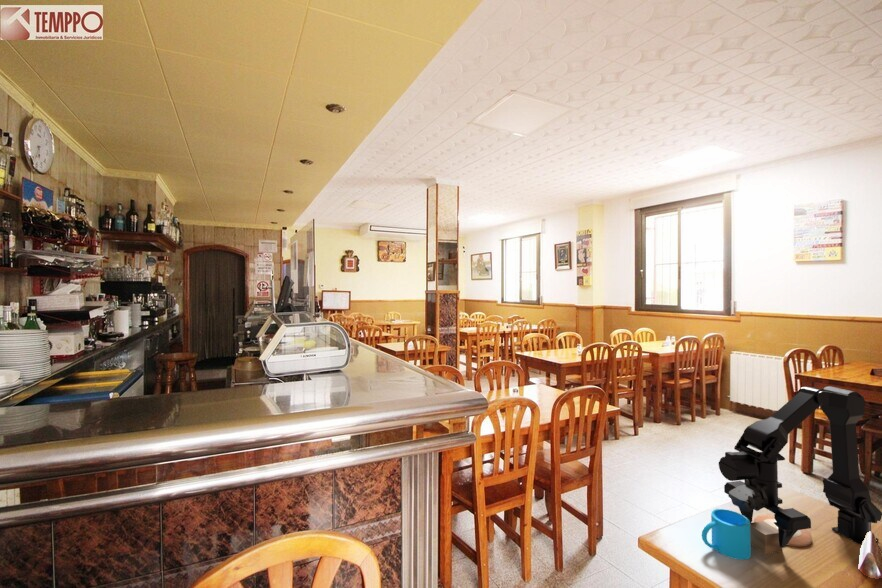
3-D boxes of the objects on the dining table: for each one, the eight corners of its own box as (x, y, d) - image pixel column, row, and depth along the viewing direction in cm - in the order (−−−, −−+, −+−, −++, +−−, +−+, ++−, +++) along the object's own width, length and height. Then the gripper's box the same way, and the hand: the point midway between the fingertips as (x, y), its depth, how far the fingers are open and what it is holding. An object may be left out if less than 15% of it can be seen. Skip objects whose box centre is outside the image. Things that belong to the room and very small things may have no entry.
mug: (732, 537, 106) (731, 507, 106) (759, 557, 98) (758, 525, 98) (691, 541, 105) (690, 511, 105) (715, 562, 97) (714, 530, 97)
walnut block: (763, 539, 105) (763, 521, 105) (782, 551, 100) (782, 532, 100) (747, 541, 104) (746, 523, 104) (765, 554, 100) (765, 534, 99)
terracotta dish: (778, 517, 115) (778, 512, 115) (824, 543, 103) (824, 538, 103) (742, 522, 113) (742, 517, 113) (785, 549, 101) (785, 544, 101)
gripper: (706, 464, 110) (707, 519, 110) (772, 498, 92) (773, 564, 92) (741, 460, 112) (742, 514, 112) (812, 493, 93) (813, 558, 94)
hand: (764, 536), depth 102 cm, fingers open, 9 cm apart
